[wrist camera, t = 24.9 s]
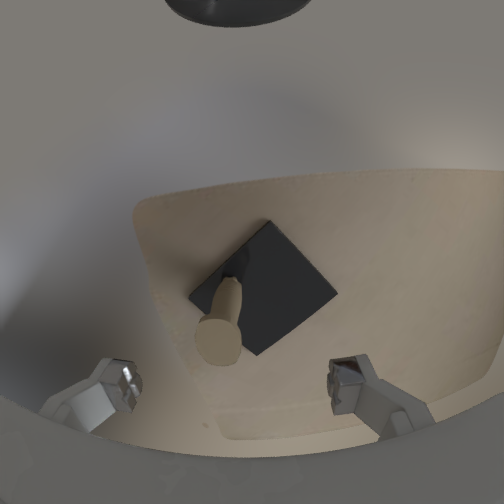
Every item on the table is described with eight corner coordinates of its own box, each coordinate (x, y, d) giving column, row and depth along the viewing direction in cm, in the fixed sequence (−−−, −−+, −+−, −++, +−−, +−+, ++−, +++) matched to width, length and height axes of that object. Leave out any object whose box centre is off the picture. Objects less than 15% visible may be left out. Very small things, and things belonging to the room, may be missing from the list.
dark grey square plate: (189, 295, 44) (187, 298, 43) (270, 219, 40) (270, 221, 39) (256, 352, 47) (256, 356, 46) (336, 291, 43) (338, 293, 42)
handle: (218, 303, 43) (201, 366, 29) (212, 266, 41) (190, 319, 27) (248, 302, 43) (243, 365, 29) (244, 264, 41) (237, 317, 27)
